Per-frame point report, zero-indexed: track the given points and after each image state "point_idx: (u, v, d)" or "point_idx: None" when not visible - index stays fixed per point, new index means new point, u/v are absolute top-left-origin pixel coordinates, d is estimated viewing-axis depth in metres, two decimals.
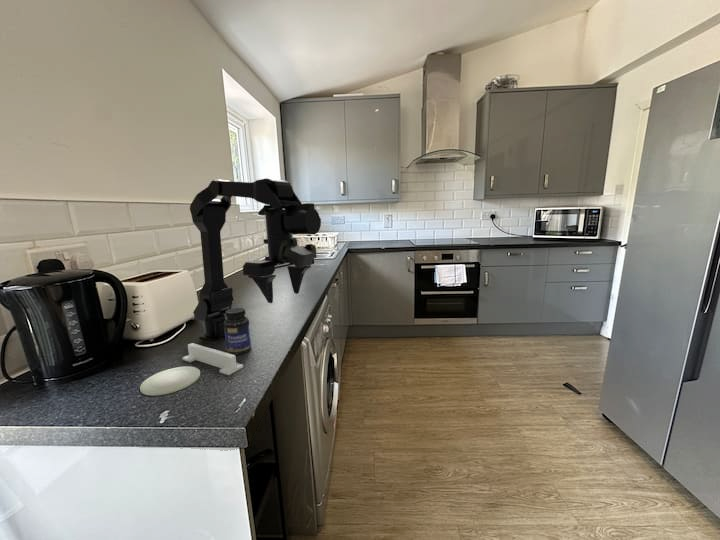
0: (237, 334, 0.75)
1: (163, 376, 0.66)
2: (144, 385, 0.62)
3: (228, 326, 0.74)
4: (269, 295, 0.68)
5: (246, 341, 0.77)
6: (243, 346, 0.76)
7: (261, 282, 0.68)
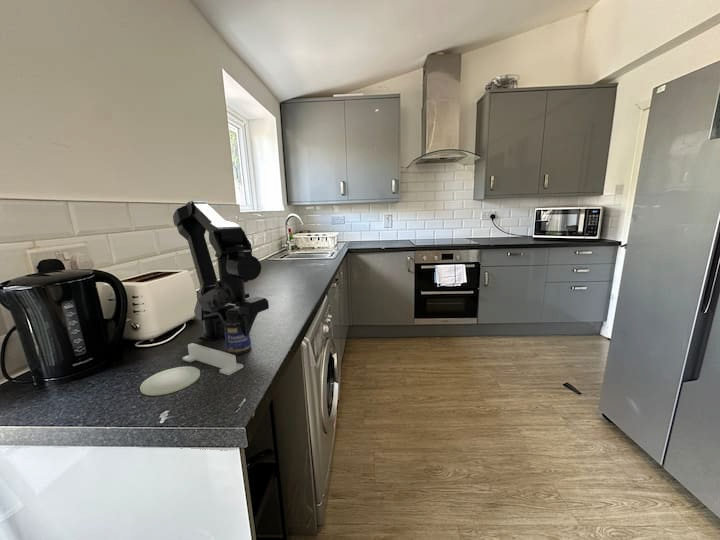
0: (237, 334, 0.75)
1: (163, 376, 0.66)
2: (144, 385, 0.62)
3: (228, 326, 0.74)
4: None
5: (246, 341, 0.77)
6: (243, 346, 0.76)
7: None
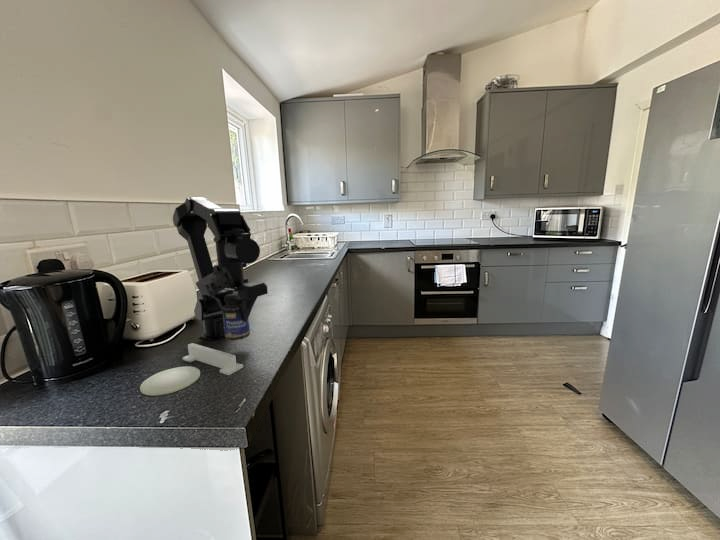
0: (236, 319, 0.74)
1: (163, 376, 0.66)
2: (144, 385, 0.62)
3: (227, 311, 0.74)
4: None
5: (245, 327, 0.76)
6: (241, 332, 0.75)
7: None
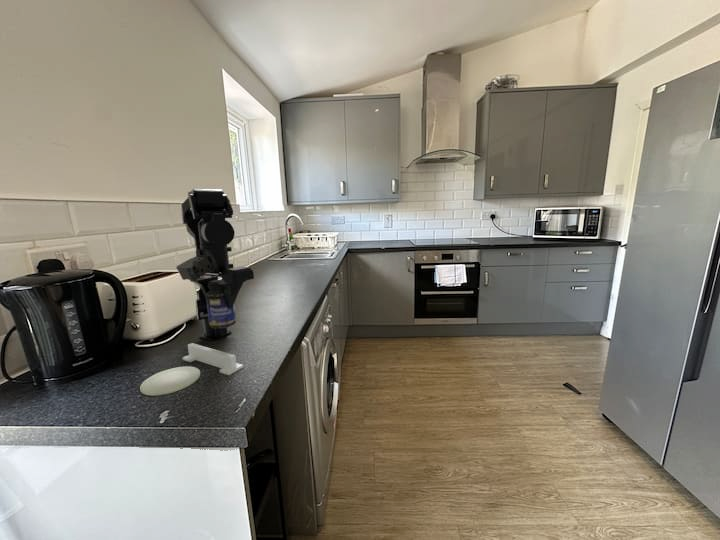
0: (221, 306, 0.70)
1: (163, 376, 0.66)
2: (144, 385, 0.62)
3: (211, 298, 0.70)
4: None
5: (230, 314, 0.72)
6: (226, 320, 0.71)
7: None
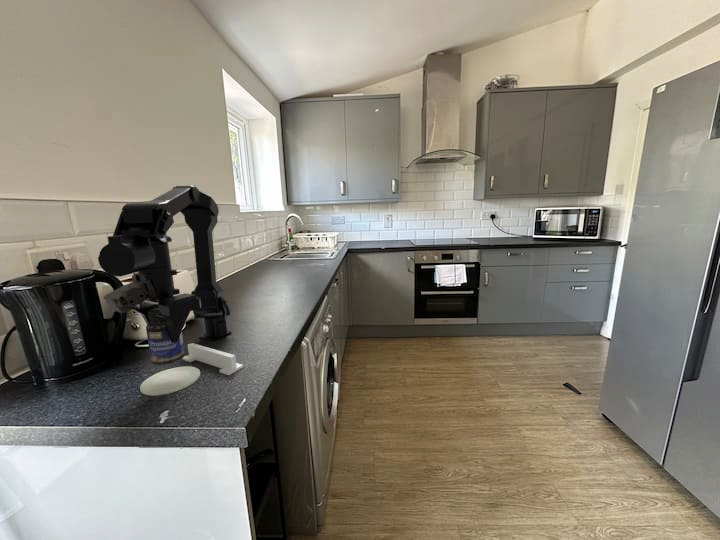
0: (162, 339, 0.60)
1: (163, 376, 0.66)
2: (144, 385, 0.62)
3: (150, 330, 0.59)
4: None
5: (175, 348, 0.62)
6: (170, 355, 0.61)
7: None
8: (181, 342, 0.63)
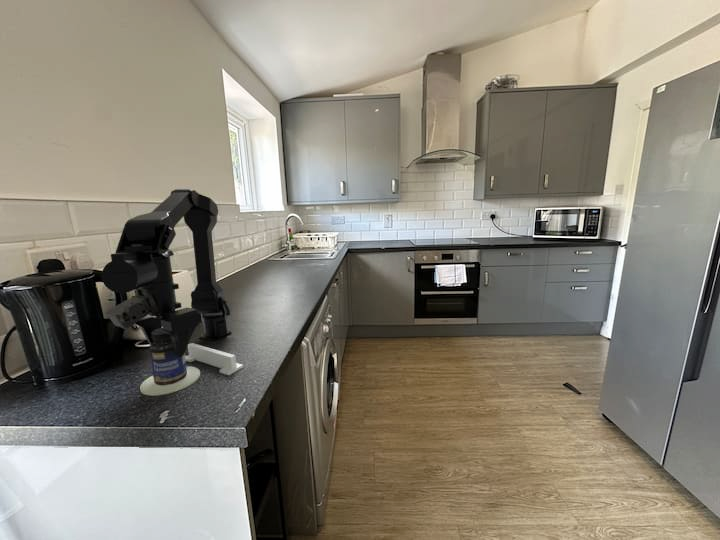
0: (165, 360, 0.61)
1: None
2: (144, 385, 0.62)
3: (153, 351, 0.60)
4: None
5: (177, 368, 0.62)
6: (173, 375, 0.62)
7: None
8: (184, 362, 0.64)
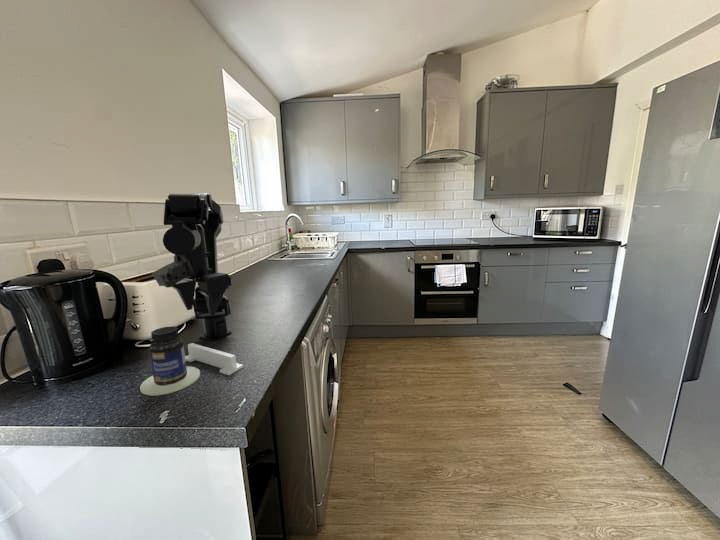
0: (165, 360, 0.61)
1: None
2: (144, 385, 0.62)
3: (153, 351, 0.60)
4: None
5: (177, 368, 0.62)
6: (173, 375, 0.62)
7: None
8: (184, 362, 0.64)
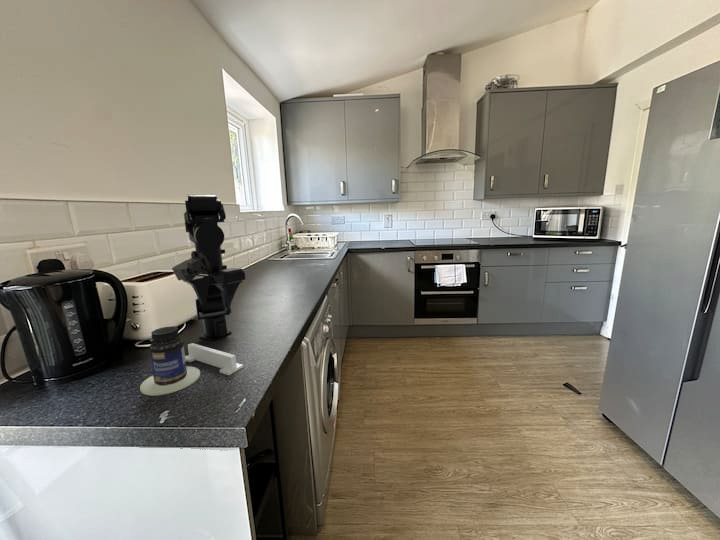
0: (165, 360, 0.61)
1: None
2: (144, 385, 0.62)
3: (154, 351, 0.60)
4: None
5: (177, 368, 0.62)
6: (173, 375, 0.62)
7: None
8: (184, 362, 0.64)
